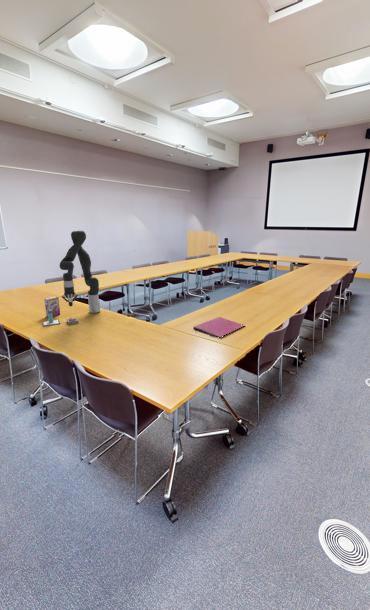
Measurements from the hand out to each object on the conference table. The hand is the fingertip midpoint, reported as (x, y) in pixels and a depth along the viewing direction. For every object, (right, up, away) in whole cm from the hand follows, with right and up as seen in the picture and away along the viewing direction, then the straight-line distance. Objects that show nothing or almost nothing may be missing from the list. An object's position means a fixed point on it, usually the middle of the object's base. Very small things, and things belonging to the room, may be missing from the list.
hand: (70, 306), depth 239 cm
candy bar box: (-24, -9, +21) cm, 33 cm away
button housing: (0, -14, +4) cm, 15 cm away
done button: (0, -12, +4) cm, 13 cm away
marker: (-17, -14, +1) cm, 22 cm away
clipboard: (-17, -14, +2) cm, 22 cm away
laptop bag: (+122, -19, -3) cm, 124 cm away
